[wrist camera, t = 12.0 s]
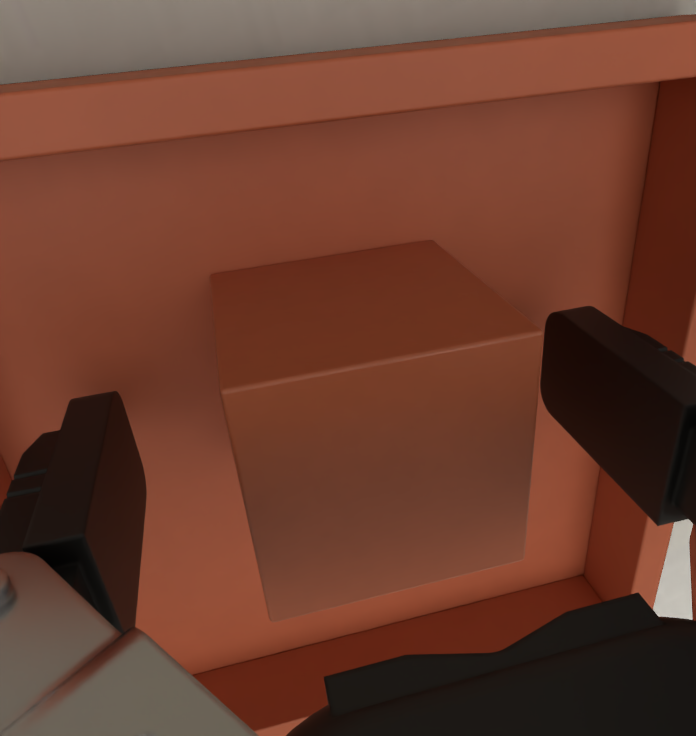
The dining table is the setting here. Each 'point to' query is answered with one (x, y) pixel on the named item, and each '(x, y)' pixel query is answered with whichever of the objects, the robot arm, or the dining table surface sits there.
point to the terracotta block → (375, 421)
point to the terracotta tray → (332, 237)
